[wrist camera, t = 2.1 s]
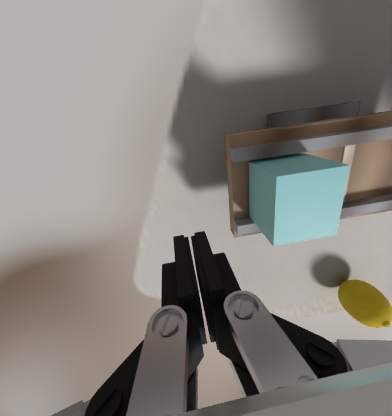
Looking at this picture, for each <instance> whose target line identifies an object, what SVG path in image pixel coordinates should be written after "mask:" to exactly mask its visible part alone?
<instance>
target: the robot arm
mask: <svg viewBox="0 0 392 416" xmlns="http://www.w3.org/2000/svg"><path fill="white" fill-rule="evenodd" d="M191 239H192V246H193V252H194V258H195V265H196V271H197V277H198V282H199V287H200V292H201V297H202V302H203V307H204V311H205V316H206V321H207V326H208V331H209V335H210V340H211V342H215V341H216V345H217V350H219V352H220V353H221V354H223V355H224V356H226V357H227V358H229V362H230V365H231V368H232V370H233V372H234V375H235V377H236V379H237V382H238V384H239V387H240V389H241V392H242V394H243V396H244V398H240V399H237V400H233V401H229V402H225V403H221V404H217V405H213V406H209V407H205V408H201V409H198V369H197V366H198V365H199V363H200V361H201V360H202V358H203V356H204V354H203V347H202V344H206V343H207V340H206V334H205V328H204V321H203V315H202V309H201V302H200V296H199V290H198V285H197V280H196V275H195V270H194V265H193V260H192V255H191V250H190V245H189V240H188V237H185V238H184V235H181V236H175V237H174V251H175V262H172V263H166V264H163V265H162V307H161V308H160V309H158V310H157V311H156V312H155V313H153V315H152V316H151V318H150V320H149V322H148V325H147V330H146V334H145V338H144V340H143V341H142V342H141V343H140V344H139V345H138V346H137V347H136V349H135V350H134V351H133V352H132V353H131V354H130V355H129V356H128V357H127V358H126V360H125V361H124V362H123V363H122V364H121V365H120V366H119V367H118V368H117V369H116V371H115V372H114V373H113V374H112V375H111V376H110V378H108V379H107V381H106V382H105V383H104V384H103V385H102V386H101V387H100V388H99V389H98V390H97V392H96V393H95V394H94V396H93V397H92V398H91V399H90V400H89V401H87V402H85V403H84V402H83V401H82V400H81V401H79V402H77V403H75V404H73V405H71V406H69V407H67V408H65V409H63V410H61V411H59V412H57V413H55V414H53V415H51V416H392V341H382V340H339V339H338V340H337V342H334V343H333V342H330V341H328V340H326V339H325V338H323V337H321V336H319V335H316V334H314V333H312V332H310V331H308V330H306V329H303V328H302V327H299V326H297V325H295V324H293V323H291V322H289V321H286V320H284V319H282V318H280V317H278V316H276V315H273V314H271V313H270V312H269V311H268V310H267V308H266V307H265V306H264V304H263V303H262V301H261V300H260V299H259V298H258V297H257V296H256V295H254V294H253V293H251V292H248V291H241V289H240V287H239V285H238V282H237V280H236V278H235V276H234V273H233V271H232V269H231V267H230V264H229V262H228V260H227V258H226V255H225V254H224V253H219V254H213V253H212V250H211V248H210V245H209V242H208V239H207V236H206V234H205V231H203V232H197V233H195V236H191Z"/></svg>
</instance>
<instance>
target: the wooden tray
mask: <svg viewBox="0 0 392 416" xmlns="http://www.w3.org/2000/svg"><path fill="white" fill-rule="evenodd" d="M359 106H360V102H352V103H345V104H338V105H330V106H323V107H316V108H309V109H301V110H294V111H287V112H280V113H272V114H268V128H266V129H259V130H252V131H245V132H238V133H231V134H225V141H226V158H227V175H228V192H229V209H230V226H231V232H232V233H233V235H234V237H240V236H246V235H251V234H257V233H262V231H261V230H260V229H259V228H258V226H257V225H256V224H255V223H254V222H253V220H252V219H251V218H250V212H249V161H255V160H262V159H269V158H275V157H282V156H289V155H295V154H302V153H305V154H309V155H313V156H317V157H321V158H325V159H328V160H332V161H336V162H340V163H344V164H348V165H350V169H349V174H348V179H347V184H346V189H345V194H344V199H343V204H342V209H341V214H340V219H344V218H350V217H356V216H362V215H368V214H374V213H379V212H385V211H391V210H392V111H386V112H379V113H372V114H365V115H358V111H359Z"/></svg>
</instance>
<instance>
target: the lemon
mask: <svg viewBox="0 0 392 416" xmlns="http://www.w3.org/2000/svg"><path fill="white" fill-rule="evenodd" d="M338 297H339V300H340V302H341V304H342V306H343V307H344V309H345V310H346V311H347V312H348V313H349V314H350V315H351V316H353V318H355V319H356V320H357V321H359V322H360V323H362V324H364V325H367V326H370V327H376V328H378V327H389V326H390V322H391V320H392V307H391V305H390V303H389V301H388V300H387V299H386V297H385V296H384V295H383V294H382V293H381V292H380V291H379V290H377V289H376V288H375V287H373V286H372V285H370V284H368V283H366V282H364V281H360V280H349V281H343V282H342V283H341V286H340V287H339V290H338Z"/></svg>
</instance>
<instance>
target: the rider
mask: <svg viewBox="0 0 392 416" xmlns="http://www.w3.org/2000/svg"><path fill="white" fill-rule="evenodd" d="M349 169H350V165H348V164H344V163H340V162H336V161H332V160H328V159H325V158H321V157H317V156H313V155H309V154H305V153H302V154H295V155H289V156H282V157H275V158H269V159H262V160H255V161H249V212H250V218H251V219H252V220H253V222H254V223H255V224H256V225H257V226H258V228H259V229H260V230H261V231H262V233H263V234H264V235H265V236H266V238H267V239H268V240H269V241H270V243H271V244H272V245H273V246H277V245H283V244H288V243H294V242H300V241H305V240H311V239H317V238H322V237H328V236H334V235H337V230H338V225H339V219H340V214H341V209H342V204H343V199H344V194H345V189H346V184H347V179H348V174H349Z"/></svg>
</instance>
